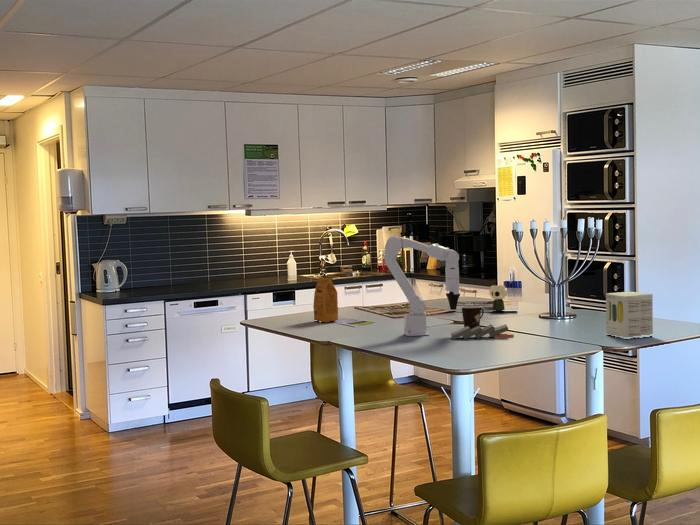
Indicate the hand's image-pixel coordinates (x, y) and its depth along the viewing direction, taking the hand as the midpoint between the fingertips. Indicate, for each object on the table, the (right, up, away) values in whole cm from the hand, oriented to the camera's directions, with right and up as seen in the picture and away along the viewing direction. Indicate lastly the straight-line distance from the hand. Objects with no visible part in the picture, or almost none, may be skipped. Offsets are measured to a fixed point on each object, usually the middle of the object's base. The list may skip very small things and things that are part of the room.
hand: (453, 309), depth 360 cm
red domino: (+15, -11, -11) cm, 22 cm away
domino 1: (+3, -10, -12) cm, 16 cm away
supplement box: (+69, -10, -21) cm, 72 cm away
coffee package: (-56, -9, +50) cm, 76 cm away
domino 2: (+8, -10, -12) cm, 18 cm away
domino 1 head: (-2, -11, -12) cm, 16 cm away
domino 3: (+13, -9, -12) cm, 20 cm away
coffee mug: (+11, -10, +12) cm, 19 cm away
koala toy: (+31, -5, +68) cm, 75 cm away
